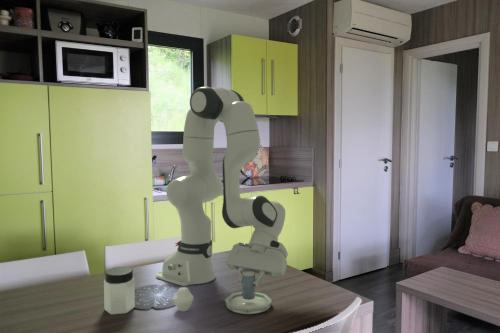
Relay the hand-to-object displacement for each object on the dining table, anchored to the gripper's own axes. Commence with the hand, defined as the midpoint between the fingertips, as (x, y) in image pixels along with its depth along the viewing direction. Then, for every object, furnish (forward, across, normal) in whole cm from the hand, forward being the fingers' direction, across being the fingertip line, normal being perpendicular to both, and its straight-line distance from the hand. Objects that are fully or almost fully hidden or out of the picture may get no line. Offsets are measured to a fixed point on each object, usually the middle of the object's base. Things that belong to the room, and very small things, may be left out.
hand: (247, 284), depth 124 cm
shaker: (+3, 0, +4) cm, 4 cm away
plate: (+5, 0, +6) cm, 7 cm away
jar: (+20, -34, -10) cm, 40 cm away
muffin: (+13, -16, -3) cm, 21 cm away
